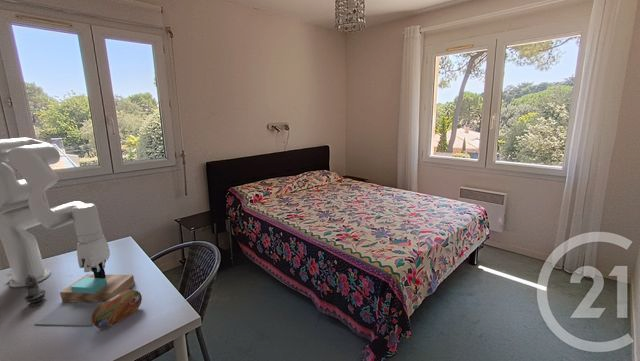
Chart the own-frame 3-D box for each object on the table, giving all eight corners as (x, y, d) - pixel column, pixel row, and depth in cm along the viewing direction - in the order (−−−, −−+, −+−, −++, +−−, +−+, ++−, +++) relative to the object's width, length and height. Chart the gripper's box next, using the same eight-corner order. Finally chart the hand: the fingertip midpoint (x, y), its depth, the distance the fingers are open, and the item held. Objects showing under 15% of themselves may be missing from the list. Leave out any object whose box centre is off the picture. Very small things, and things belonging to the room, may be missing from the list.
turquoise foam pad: (72, 292, 107) (70, 286, 107) (86, 282, 113) (85, 277, 112) (93, 293, 106) (92, 288, 105) (107, 284, 112) (106, 278, 111)
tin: (98, 335, 91) (92, 312, 89) (92, 332, 93) (87, 309, 91) (144, 306, 105) (140, 285, 102) (138, 304, 106) (134, 283, 104)
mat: (34, 324, 97) (34, 323, 96) (64, 303, 107) (64, 302, 107) (91, 326, 95) (90, 325, 95) (115, 304, 106) (115, 303, 106)
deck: (62, 301, 108) (59, 292, 107) (89, 282, 120) (86, 274, 119) (112, 302, 107) (110, 293, 106) (134, 283, 119) (133, 274, 118)
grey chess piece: (47, 295, 112) (39, 268, 109) (48, 302, 108) (39, 274, 105) (26, 303, 108) (17, 274, 105) (26, 310, 104) (16, 281, 101)
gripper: (96, 228, 117) (106, 268, 121) (63, 245, 102) (75, 290, 107) (114, 228, 116) (123, 268, 121) (83, 245, 102) (94, 290, 106)
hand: (100, 278), depth 114 cm, fingers closed
